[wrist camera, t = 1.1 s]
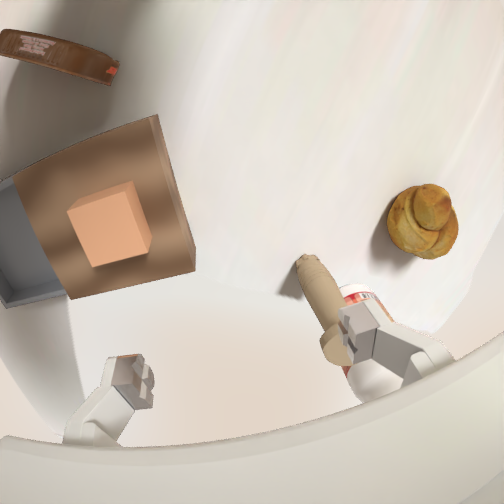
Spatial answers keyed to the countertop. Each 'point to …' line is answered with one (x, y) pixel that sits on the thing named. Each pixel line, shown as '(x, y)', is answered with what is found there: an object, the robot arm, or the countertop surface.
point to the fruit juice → (369, 372)
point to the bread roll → (423, 221)
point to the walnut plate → (100, 178)
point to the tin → (58, 55)
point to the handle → (324, 306)
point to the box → (22, 255)
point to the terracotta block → (111, 224)
